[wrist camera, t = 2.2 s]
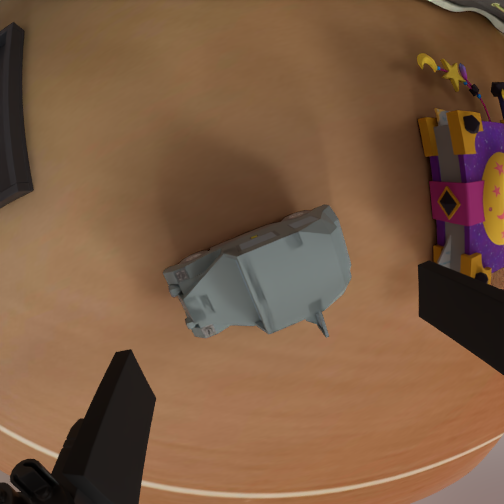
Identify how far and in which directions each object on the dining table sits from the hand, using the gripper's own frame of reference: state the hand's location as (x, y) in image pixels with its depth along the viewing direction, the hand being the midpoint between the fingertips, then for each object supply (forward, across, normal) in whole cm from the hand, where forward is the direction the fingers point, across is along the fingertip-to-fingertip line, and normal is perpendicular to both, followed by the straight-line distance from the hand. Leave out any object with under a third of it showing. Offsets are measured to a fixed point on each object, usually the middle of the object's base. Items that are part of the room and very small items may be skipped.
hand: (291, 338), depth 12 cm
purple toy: (+8, +20, +1) cm, 21 cm away
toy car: (+8, 0, 0) cm, 8 cm away
